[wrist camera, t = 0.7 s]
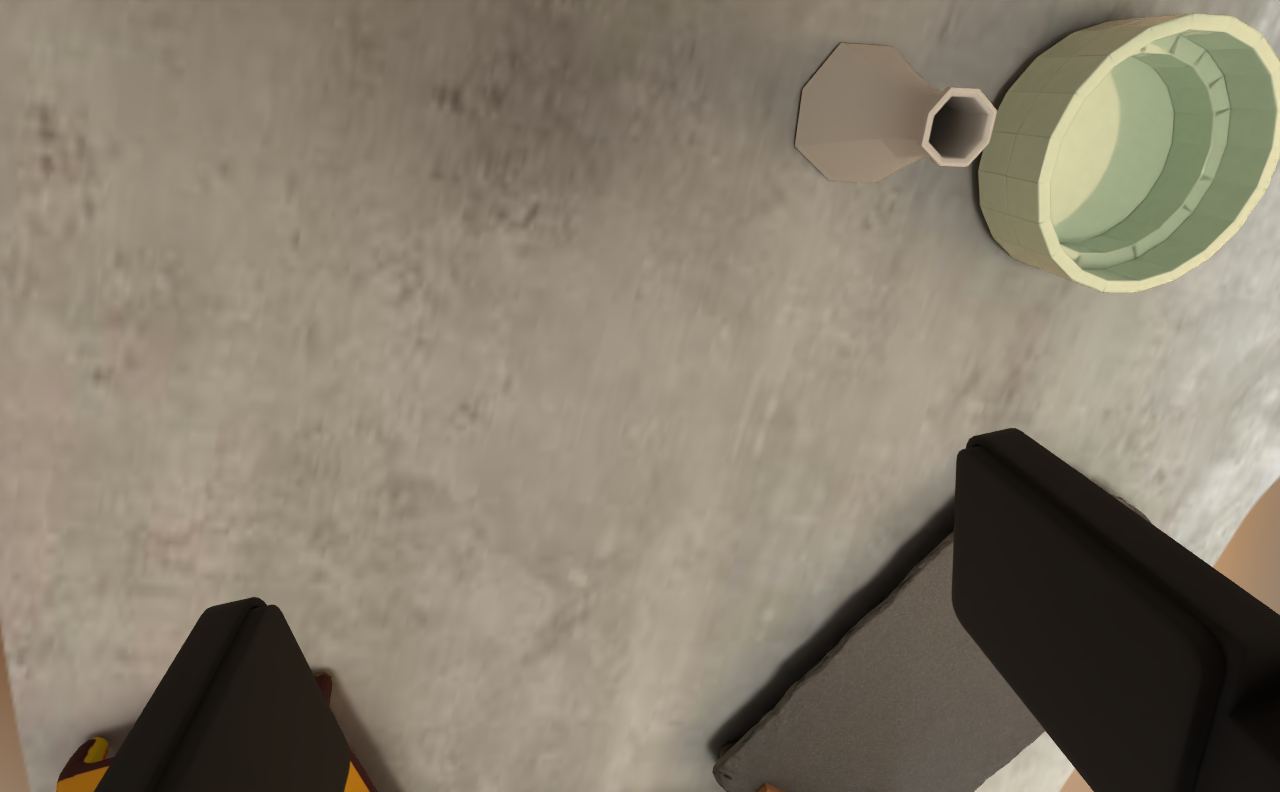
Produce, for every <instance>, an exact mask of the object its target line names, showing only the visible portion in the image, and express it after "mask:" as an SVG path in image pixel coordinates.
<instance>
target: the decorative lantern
mask: <svg viewBox="0 0 1280 792" xmlns="http://www.w3.org/2000/svg"><path fill="white" fill-rule="evenodd" d="M315 679H316V681H317V683H318V685H319V687H320V689H321V691H322V693H323V695H324V697H325V699H326V701H327V703H328V705H330V697H331V690H332V679H331V676H330V675H328V674H327V673H322V674H318V675H317V676H316V677H315ZM329 707H330V706H329ZM348 746H349V745H348ZM108 748H109V746H108V742H107V740H105V739H104V738H101V737H95V738H92V739H89V740H88V741H86V742H85V743H84V744H83V745H81V746H80V747H79V748H78V750H77V751H76V752H75V753H74V754H73V756H72V757H71V758H70V760H69V761H68V763H67V764H66V766H65V767H64V769H63V770H62V772H61V773H60V776H59V779H58V782H57V789H56V792H94V790H95V788H96V787H97V785H98V784H99V782H100V780H101V779H102V777H103V775H104V774H105V772H106V770H107V769H108V767H109V766H110V764H111V762H112V761H113V759H114V757H112V758H109V759H105V758H106V755H107V753H108ZM349 751H350V769H349V775H348V778H347V782H346V786H345V790H344V792H377V790H376V788H375V787H374V785H373V784H372V782H371V780H370V779H369V777H368V776H367V774H366V772H365V771H364V769H363V768H362V766H361V764H360V763H359V761H358V759H357V758H356V756H355V755H354V753H353V751H352V750H351V748H350V747H349Z"/></svg>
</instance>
